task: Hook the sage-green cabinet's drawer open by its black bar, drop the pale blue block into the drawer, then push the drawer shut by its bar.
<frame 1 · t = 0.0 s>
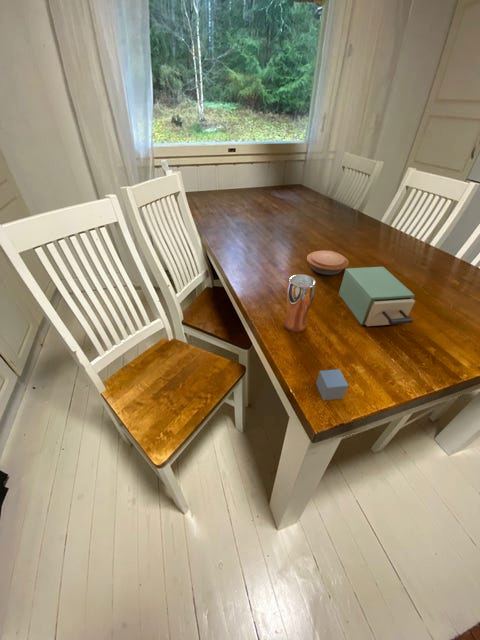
cabinet: (367, 307, 86), on the table
metal cup: (294, 325, 79), on the table
block: (329, 391, 61), on the table
drawer: (380, 303, 80), point 5 cm above the table, slide at 0.5 cm
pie: (325, 268, 106), on the table
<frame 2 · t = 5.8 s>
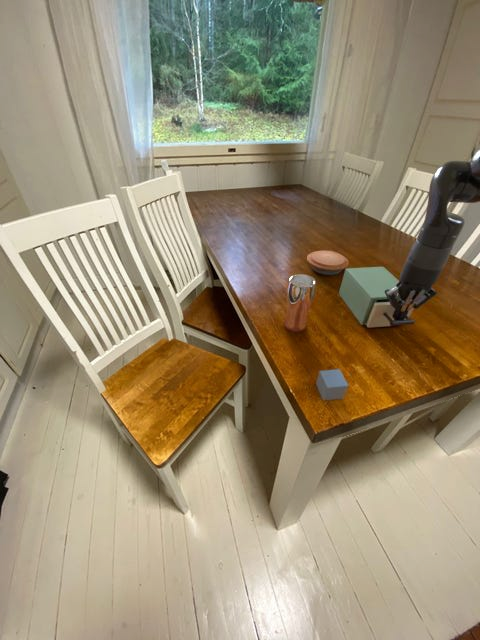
hand: (397, 319, 73), 5 cm above the table, tool pointing down, fingers closed
drawer: (381, 304, 79), point 5 cm above the table, slide at 1.1 cm
everything else where it was.
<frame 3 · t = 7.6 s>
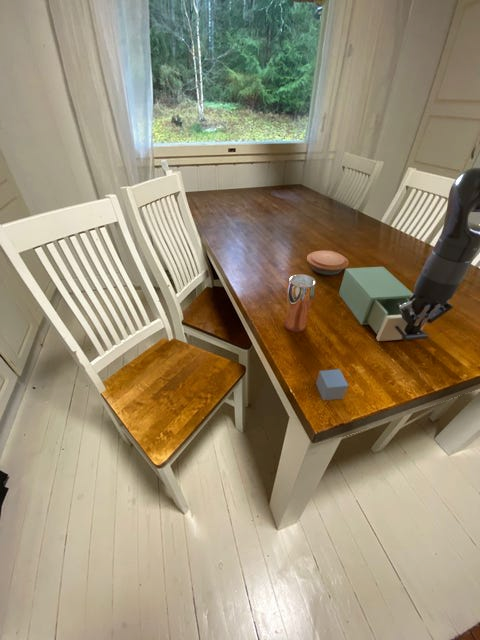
hand: (409, 334, 69), 5 cm above the table, tool pointing down, fingers closed
drawer: (392, 316, 75), point 5 cm above the table, slide at 6.7 cm, touching gripper
everything else where it was.
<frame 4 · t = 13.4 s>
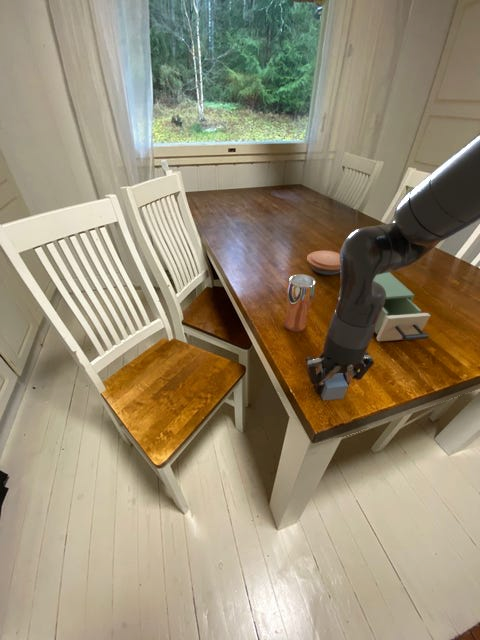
hand: (329, 390, 61), 0 cm above the table, tool pointing down, fingers closed on block, 4 cm apart
block: (329, 391, 61), on the table, touching gripper
drawer: (392, 316, 75), point 5 cm above the table, slide at 6.8 cm
everything else where it was.
when the fingers open (9 cm above the table, at t = 20.1 s): block drops 7 cm, resting on drawer.
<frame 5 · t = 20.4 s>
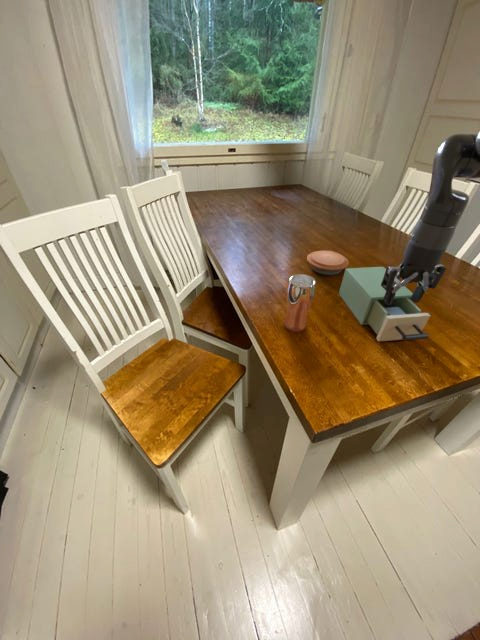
hand: (400, 301, 71), 10 cm above the table, tool pointing down, fingers open, 7 cm apart
block: (390, 325, 76), point 2 cm above the table, touching drawer
drawer: (392, 316, 75), point 5 cm above the table, slide at 6.8 cm, touching block
everything else where it was.
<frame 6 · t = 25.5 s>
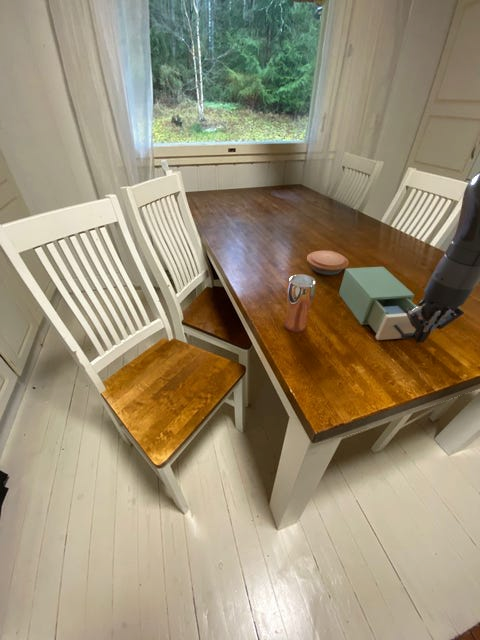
hand: (417, 340, 66), 6 cm above the table, tool pointing down, fingers closed
drawer: (391, 315, 75), point 5 cm above the table, slide at 6.3 cm, touching block, gripper
everything else where it was.
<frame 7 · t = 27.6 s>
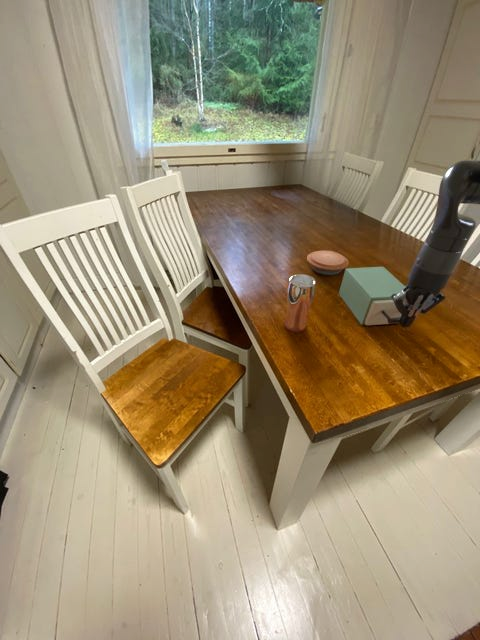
hand: (404, 325, 71), 6 cm above the table, tool pointing down, fingers closed
block: (377, 311, 81), point 2 cm above the table, touching drawer
drawer: (380, 302, 80), point 5 cm above the table, slide at 0.1 cm, touching block
everything else where it was.
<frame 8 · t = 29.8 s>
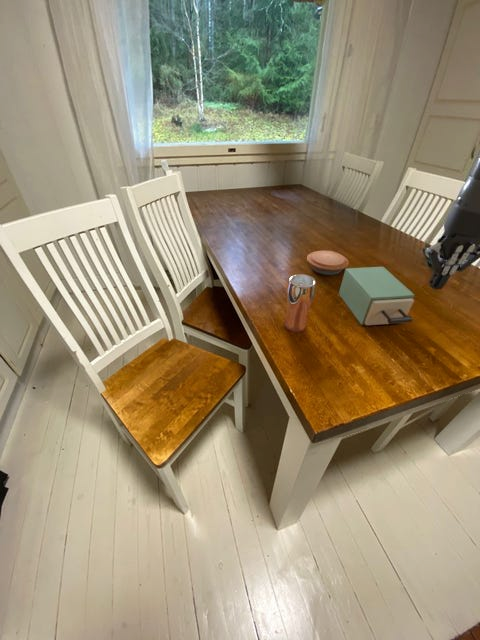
hand: (435, 287, 60), 19 cm above the table, tool pointing down, fingers closed
nothing on the table moved.
at the end: drawer pulled out 6.8 cm at the most during the clip, back to where it started at the end; block inside the target area in the cabinet (3.8 cm from its centre), point 2.0 cm above the cabinet's base; drawer slide at 0.1 cm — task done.
